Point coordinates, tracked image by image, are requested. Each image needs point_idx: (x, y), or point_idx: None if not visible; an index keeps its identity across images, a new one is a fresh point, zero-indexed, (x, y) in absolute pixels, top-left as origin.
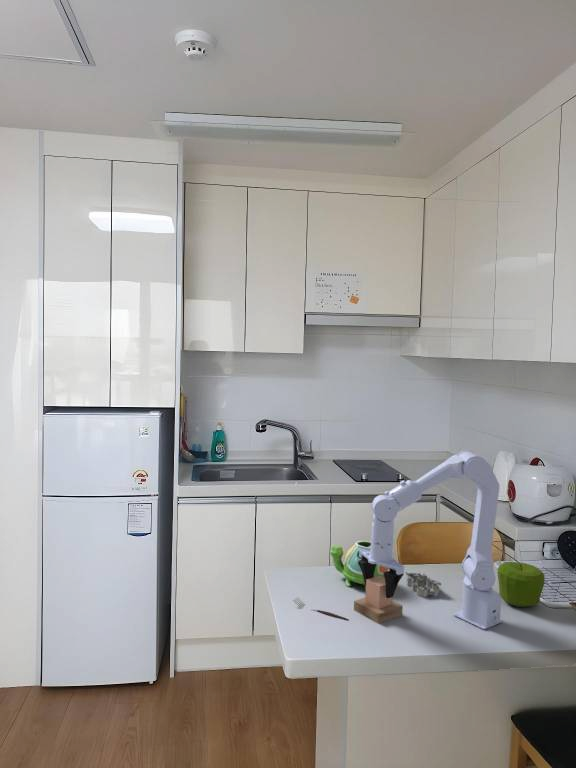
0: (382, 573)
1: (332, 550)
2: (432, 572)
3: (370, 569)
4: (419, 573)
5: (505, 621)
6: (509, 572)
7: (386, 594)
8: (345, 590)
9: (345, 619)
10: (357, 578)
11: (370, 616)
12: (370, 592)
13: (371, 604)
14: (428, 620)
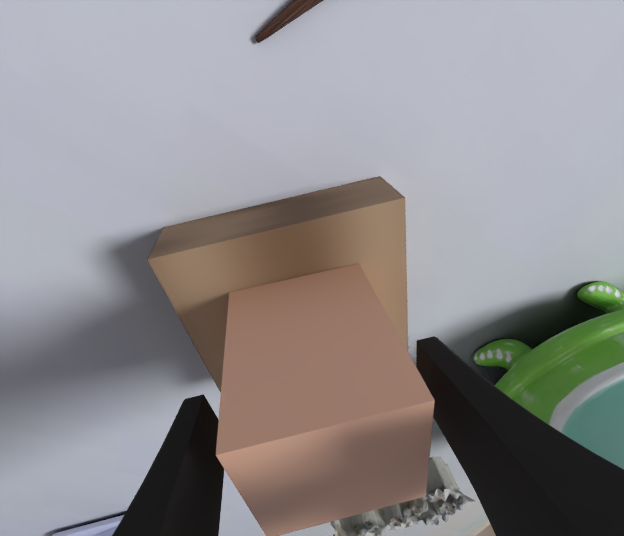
0: None
1: None
2: (452, 517)
3: (517, 526)
4: (444, 519)
5: None
6: None
7: (186, 420)
8: (572, 254)
9: (278, 16)
10: (585, 346)
11: (231, 218)
12: (331, 331)
13: (298, 279)
14: (157, 432)
